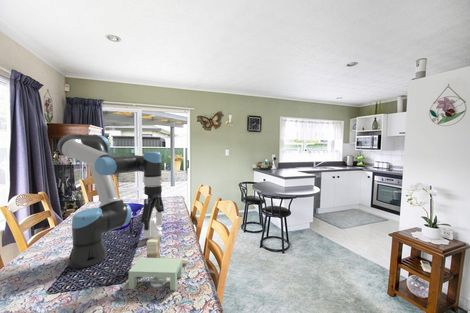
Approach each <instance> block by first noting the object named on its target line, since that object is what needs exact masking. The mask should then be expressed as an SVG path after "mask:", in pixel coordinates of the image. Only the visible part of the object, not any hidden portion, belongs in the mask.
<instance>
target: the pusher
mask: <svg viewBox="0 0 470 313" xmlns="http://www.w3.org/2000/svg"><path fill="white" fill-rule="evenodd" d="M146 258H161V237H160V238H159V237H151V238H150V239H149V238H148V239H147V241H146ZM170 258H171V259H182V267H183V266H187V265H188V263H189V258H183V257H170Z"/></svg>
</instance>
